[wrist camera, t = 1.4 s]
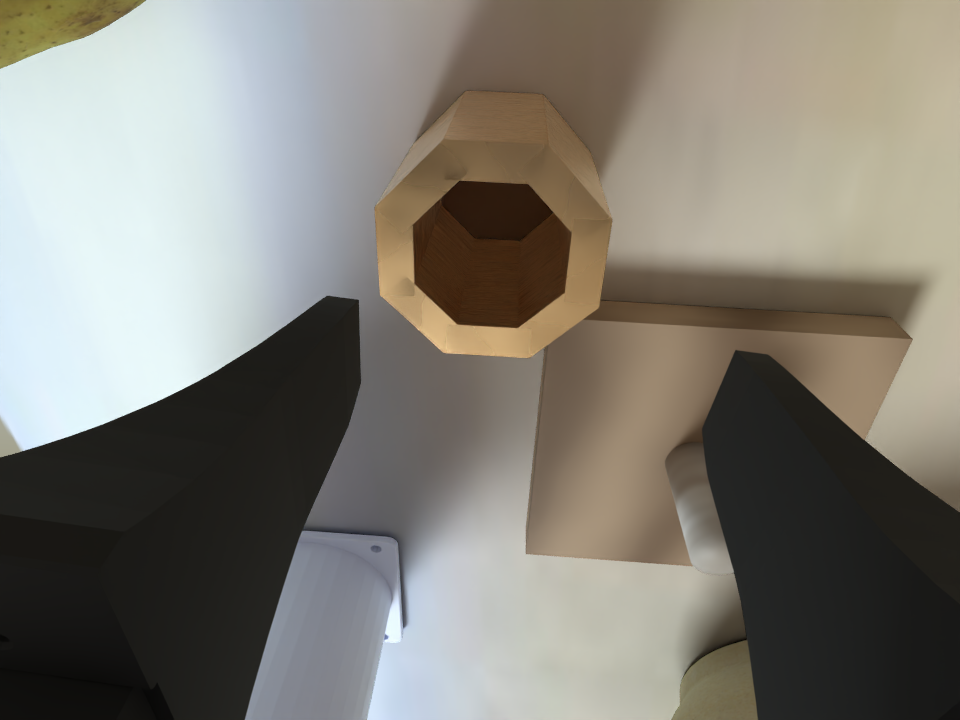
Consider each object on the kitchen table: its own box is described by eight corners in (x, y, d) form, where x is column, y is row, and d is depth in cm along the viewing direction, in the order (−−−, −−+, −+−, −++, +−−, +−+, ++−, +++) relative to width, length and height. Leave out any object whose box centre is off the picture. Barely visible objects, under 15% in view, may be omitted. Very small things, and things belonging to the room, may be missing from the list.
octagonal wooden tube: (416, 259, 22) (383, 348, 17) (412, 88, 19) (370, 135, 14) (576, 268, 22) (590, 361, 17) (597, 96, 19) (623, 148, 14)
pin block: (525, 528, 29) (525, 648, 24) (549, 297, 22) (556, 395, 17) (788, 546, 28) (843, 673, 23) (890, 317, 22) (998, 424, 17)
